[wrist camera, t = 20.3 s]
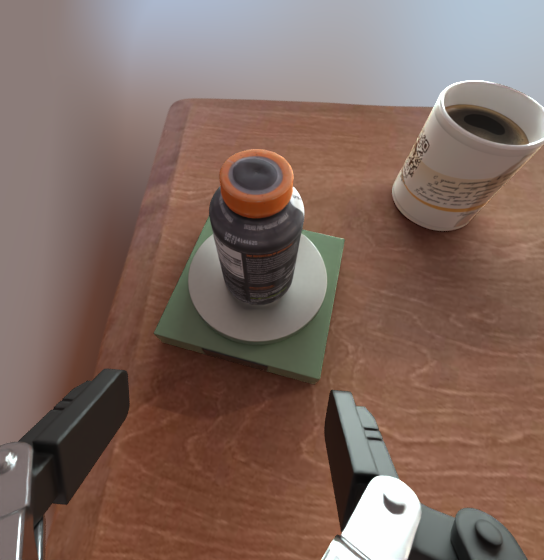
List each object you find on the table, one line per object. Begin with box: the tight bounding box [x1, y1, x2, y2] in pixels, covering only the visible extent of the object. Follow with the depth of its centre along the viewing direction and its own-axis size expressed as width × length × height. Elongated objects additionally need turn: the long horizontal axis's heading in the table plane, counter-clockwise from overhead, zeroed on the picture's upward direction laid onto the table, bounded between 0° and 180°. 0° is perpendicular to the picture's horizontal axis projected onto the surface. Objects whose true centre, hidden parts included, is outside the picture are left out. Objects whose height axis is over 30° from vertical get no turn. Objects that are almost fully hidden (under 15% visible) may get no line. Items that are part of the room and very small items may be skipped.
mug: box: [392, 81, 544, 231], centre depth 32 cm, size 10×12×11 cm
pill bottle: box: [209, 149, 304, 305], centre depth 21 cm, size 6×6×11 cm
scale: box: [154, 217, 345, 384], centre depth 28 cm, size 14×14×4 cm
